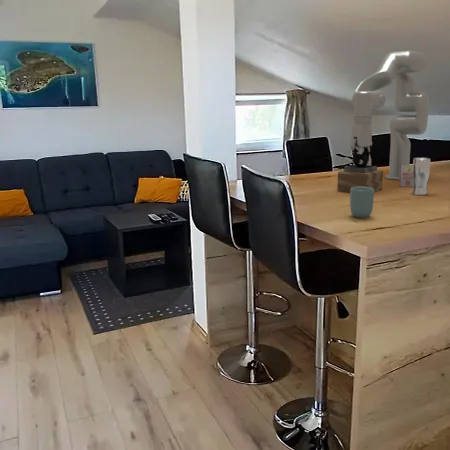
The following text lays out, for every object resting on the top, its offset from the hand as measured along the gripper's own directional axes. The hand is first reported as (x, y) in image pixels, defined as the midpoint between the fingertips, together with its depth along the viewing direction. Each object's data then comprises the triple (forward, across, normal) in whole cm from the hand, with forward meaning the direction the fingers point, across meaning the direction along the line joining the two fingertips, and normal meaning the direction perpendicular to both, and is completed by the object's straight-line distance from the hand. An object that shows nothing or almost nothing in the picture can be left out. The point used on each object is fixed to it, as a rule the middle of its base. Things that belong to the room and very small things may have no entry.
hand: (360, 161), depth 213 cm
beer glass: (+13, -8, +24) cm, 28 cm away
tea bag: (+13, -22, +11) cm, 28 cm away
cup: (+13, +43, +28) cm, 53 cm away
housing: (+13, 0, 0) cm, 13 cm away
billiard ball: (+3, 0, 0) cm, 3 cm away
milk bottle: (+13, -13, -7) cm, 20 cm away
